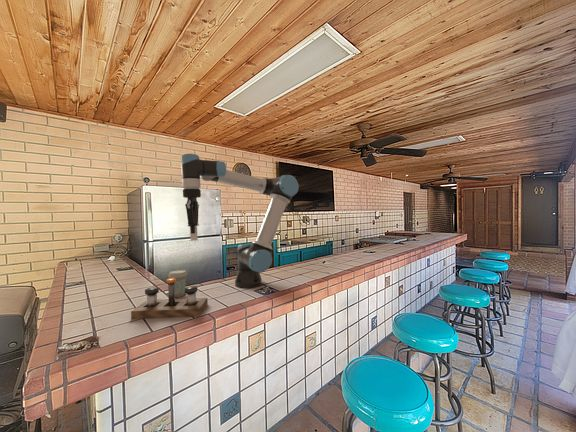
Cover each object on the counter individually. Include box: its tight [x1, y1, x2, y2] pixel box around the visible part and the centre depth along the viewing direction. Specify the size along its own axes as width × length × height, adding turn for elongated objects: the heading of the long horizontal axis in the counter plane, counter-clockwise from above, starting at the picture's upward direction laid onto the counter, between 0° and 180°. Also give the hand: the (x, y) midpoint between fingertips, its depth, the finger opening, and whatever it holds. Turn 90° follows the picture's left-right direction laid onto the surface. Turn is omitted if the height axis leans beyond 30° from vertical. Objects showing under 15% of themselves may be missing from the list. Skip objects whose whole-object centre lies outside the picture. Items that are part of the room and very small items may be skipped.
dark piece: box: [166, 278, 176, 305], centre depth 99 cm, size 3×3×10 cm
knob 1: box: [144, 286, 160, 307], centre depth 99 cm, size 5×5×10 cm
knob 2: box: [185, 285, 198, 306], centre depth 100 cm, size 5×5×10 cm
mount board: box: [130, 297, 209, 320], centre depth 99 cm, size 26×12×3 cm, turn 93°
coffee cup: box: [168, 269, 188, 298], centre depth 118 cm, size 8×8×12 cm
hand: (194, 240), depth 108 cm, fingers closed
